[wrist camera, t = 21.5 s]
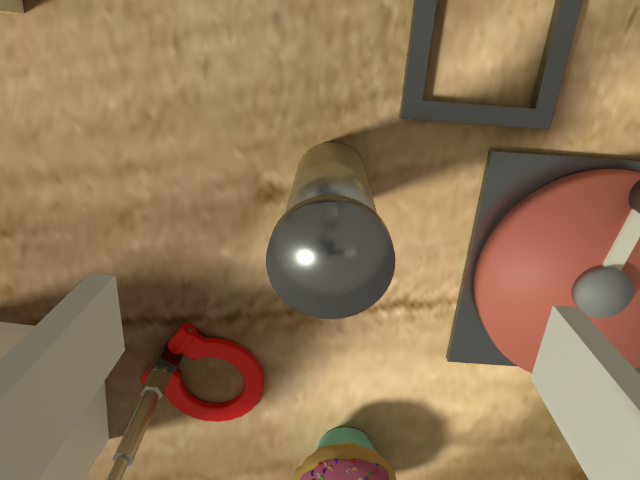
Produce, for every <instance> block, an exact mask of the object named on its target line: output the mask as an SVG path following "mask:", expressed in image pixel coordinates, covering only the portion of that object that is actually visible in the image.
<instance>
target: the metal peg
mask: <svg viewBox="0 0 640 480" xmlns="http://www.w3.org/2000/svg"><path fill="white" fill-rule="evenodd" d="M266 267H267V273H268V276H269V279H270V282H271V284H272V286H273V288H274V289H275V291H276V292H277V294H278V295H279V296H280V297H281V298H282V299H283V300H284V301H285V302H286V303H287V304H288V305H289V306H291V307H292V308H294V309H295V310H297V311H299V312H301V313H303V314H306V315H309V316H312V317H316V318H323V319H339V318H345V317H350V316H353V315H356V314H358V313H360V312H362V311H364V310H366V309H368V308H369V307H371V306H372V305H373V304H375V303H376V302H377V301H378V300H379V299H380V298H381V297H382V296H383V294H384V293H385V292H386V290H387V288H388V287H389V285H390V283H391V280H392V277H393V274H394V270H395V252H394V248H393V244H392V240H391V237H390V234H389V232H388V229H387V227H386V225H385V224H384V222H383V221H382V219H381V218H380V217H379V216H378V215H377V212H376V208H375V205H374V201H373V197H372V193H371V190H370V186H369V182H368V178H367V175H366V171H365V167H364V164H363V162H362V160H361V158H360V157H359V155H358V154H357V153H356V152H355V151H354V150H353V149H351V148H350V147H348V146H346V145H344V144H341V143H336V142H326V143H321V144H318V145H316V146H314V147H312V148H311V149H310V150H308V151H307V152H306V153H305V154H304V156H303V157H302V159H301V160H300V162H299V165H298V168H297V172H296V175H295V179H294V182H293V186H292V190H291V193H290V197H289V200H288V204H287V207H286V211H285V214H284V215H283V216H282V217H281V218H280V220H279V221H278V223H277V224H276V226H275V228H274V230H273V232H272V235H271V238H270V241H269V244H268V249H267V254H266Z"/></svg>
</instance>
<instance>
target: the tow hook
mask: <svg viewBox="0 0 640 480" xmlns="http://www.w3.org/2000/svg"><path fill="white" fill-rule="evenodd" d="M183 354H184V355H185V356H187V357H189V358H191V359H192V360H197V359H199V358H206V357H212V358H219V359H223V360H226V361H228V362H230V363H231V364H233V365H234V366H235V367H237V368H238V369H239V370H240V372H241V373H242V375H243V377H244V380H245V388H244V390H243V391H242V393H241V394H240V395H239V396H238V397H236V398H235V399H233V400H231V401H228V402H224V403H208V402H205V401H201V400H199V399H197V398H195V397H194V396H192V395H191V394H190V393H189V392H188V391H187V390H186V388H185V387H184V385H183V383H182V380H181V373H180V372H179V371H177V370H176V369H177V368H178V365H179V363H180V360H181V358H182V355H183ZM140 379H141V383H142V384H143V385H144V386H143V388H142V390H141V396H142V397H141V399H140V401H139V403H138V406H137V408H136V410H135V412H134V414H133V416H132V418H131V420H130V423H129V425H128V427H127V429H126V431H125V433H124V435H123V438H122V440H121V442H120V444H119V446H118V448H117V450H116V453H115V455H114V457H113V461H114V465H113V467H112V469H111V472H110V474H109V476H108V478H107V480H121V479H122V477H123V474H124V472H125V470H126V467H127V466H130V465H131V464H132V462H133V459H134V457H135V455H136V452H137V450H138V448H139V445H140V443H141V440H142V438H143V436H144V433H145V431H146V428H147V426H148V424H149V421H150V419H151V416H152V414H153V412H154V409H155V407H156V405H157V402H158V401H159V400H160V399H161V398H162V397H163V395H164V393H165V395H166V397H167V398H168V399H169V400H170V402H171V403H172V404H173V405H174V406H175V407H176V408H178V409H179V410H180V411H181V412H183V413H185V414H187V415H189V416H191V417H194V418H197V419H201V420H205V421H217V422H219V421H227V420H232V419H235V418H238V417H241V416H243V415H244V414H246V413H247V412H249V411H250V410H252V409H253V407H254V406H255V405H256V404H257V403H258V402H259V399H260V397H261V395H262V392H263V382H264V376H263V372H262V369H261V366H260V364H259V363H258V361H257V360H256V358H255V357H254V356H253V355H252V354H251V353H250V352H249V351H248V350H247V349H245V348H243V347H242V346H240V345H238V344H236V343H234V342H231V341H228V340H224V339H220V338H205V337H204V336H202V335H200V334H199V333H198V332H197V329H196V328H195V327H194V326H193V325H192V324H189V323H184V324H183V325H182V326H181V328H180V329H179V330H178V331H177V333H176V334H175V335H174V336H173V337H172V339H171V340H170V341H168V342H167V343H166V344H165V345H164V347H163V348H162V349H161V350H160V352H159V353H158V354H157V355H156V357H155V358H154V360H153V362H152V364H151V365H150V366H149V367H148V368H147V370H146V371H145V372H144V373H143V375H142V376H141V378H140Z"/></svg>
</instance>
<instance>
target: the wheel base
mask: <svg viewBox="0 0 640 480" xmlns="http://www.w3.org/2000/svg"><path fill="white" fill-rule="evenodd" d="M597 169H626V170H631V171H637V172H640V160H631V159H617V158H602V157H588V156H574V155H560V154H546V153H532V152H518V151H504V150H490V149H489V153H488V158H487V163H486V167H485V172H484V177H483V182H482V187H481V191H480V196H479V201H478V206H477V211H476V216H475V220H474V225H473V230H472V235H471V240H470V244H469V249H468V254H467V259H466V264H465V269H464V273H463V278H462V283H461V288H460V293H459V297H458V302H457V307H456V312H455V317H454V321H453V326H452V331H451V336H450V341H449V346H448V350H447V355H446V358H447V361H448V362H463V363H477V364H491V365H506V366H517V365H516V364H514V363H513V362H511V361H510V360H509V359H508V358H507V357H505V356H504V355H503V354H502V352H501V351H500V350H499V349H498V348H497V347H496V345H495V344H494V342H493V341H492V339H491V338H490V336H489V334H488V332H487V331H486V329H485V327H484V325H483V323H482V321H481V319H480V316H479V314H478V311H477V307H476V304H475V297H474V276H475V271H476V266H477V262H478V260H479V257H480V254H481V251H482V249H483V247H484V245H485V243H486V241H487V239H488V237H489V236H490V234H491V233H492V231H493V230H494V228H495V227H496V226H497V224H498V223H499V222H500V221H501V220H502V218H503V217H504V216H505V215H506V214H507V213H508V212H509V211H510V210H511V209H512V208H513V207H514V206H516V205H517V204H518V203H519V202H520V201H522V200H523V199H524V198H526V197H527V196H528V195H530V194H531V193H533V192H534V191H536V190H538V189H540V188H541V187H543V186H545V185H547V184H549V183H551V182H553V181H556V180H558V179H560V178H563V177H566V176H569V175H572V174H575V173H580V172H585V171H590V170H597ZM635 370H636V371H637V372H638V373H639V374H640V367H639V368H636V369H635Z"/></svg>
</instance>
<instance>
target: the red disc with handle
mask: <svg viewBox="0 0 640 480" xmlns="http://www.w3.org/2000/svg"><path fill="white" fill-rule="evenodd" d="M474 297H475V304H476V307H477V311H478V314H479V316H480V319H481V321H482V323H483V325H484V327H485V329H486V331H487V332H488V334H489V336H490V338H491V339H492V341H493V342H494V344H495V345H496V347H497V348H498V349H499V350H500V351H501V352H502V354H503V355H504V356H505V357H507V358H508V359H509V360H510V361H511V362H513V363H514V364H516V365H517V366H519V367H521V368H522V369H524V370H526V371H528V372H531V373H532V371H533V368H534V365H535V362H536V359H537V355H538V352H539V349H540V346H541V342H542V339H543V336H544V333H545V330H546V326H547V323H548V320H549V317H550V314H551V310H552V307H553V305H556V306H571V307H579V308H580V309H581V310H582V311H583V313H584V314H585V315H586V316H587V317H588V318H589V319H590V320H591V321H592V322H593V324H594V325H595V326H596V327H597V328H598V329H599V330H600V331H601V332H602V333H603V335H604V336H605V337H606V338H607V339H608V340H609V341H610V342H611V343H612V344H613V346H614V347H615V348H616V349H617V350H618V351H619V352H620V353H621V354H622V356H623V357H624V358H625V359H626V360H627V361H628V362H629V363H630V364H631V365H632V367H633V368H634V369H636V368H639V367H640V172H637V171H631V170H626V169H597V170H590V171H585V172H580V173H575V174H572V175H569V176H566V177H563V178H560V179H558V180H556V181H553V182H551V183H549V184H547V185H545V186H543V187H541V188H540V189H538V190H536V191H534V192H533V193H531V194H530V195H528V196H527V197H526V198H524V199H523V200H522V201H520V202H519V203H518V204H517V205H516V206H514V207H513V208H512V209H511V210H510V211H509V212H508V213H507V214H506V215H505V216H504V217H503V218H502V220H501V221H500V222H499V223H498V224H497V226H496V227H495V228H494V230H493V231H492V233H491V234H490V236H489V237H488V239H487V241H486V243H485V245H484V247H483V249H482V251H481V254H480V257H479V260H478V262H477V266H476V271H475V276H474Z"/></svg>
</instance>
